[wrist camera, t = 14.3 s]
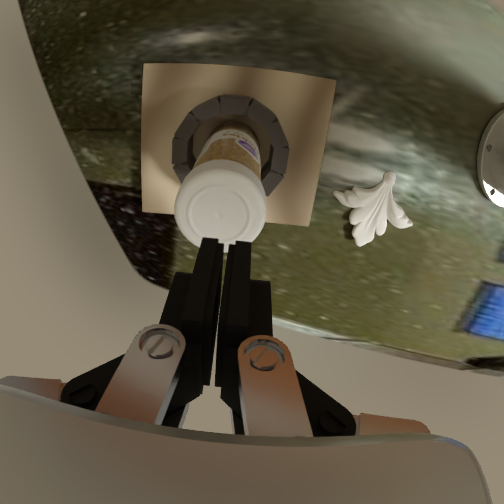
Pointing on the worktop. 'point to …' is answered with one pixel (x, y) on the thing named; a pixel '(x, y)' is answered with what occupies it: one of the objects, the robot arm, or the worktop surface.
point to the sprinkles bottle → (223, 189)
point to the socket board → (235, 110)
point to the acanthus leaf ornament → (373, 209)
